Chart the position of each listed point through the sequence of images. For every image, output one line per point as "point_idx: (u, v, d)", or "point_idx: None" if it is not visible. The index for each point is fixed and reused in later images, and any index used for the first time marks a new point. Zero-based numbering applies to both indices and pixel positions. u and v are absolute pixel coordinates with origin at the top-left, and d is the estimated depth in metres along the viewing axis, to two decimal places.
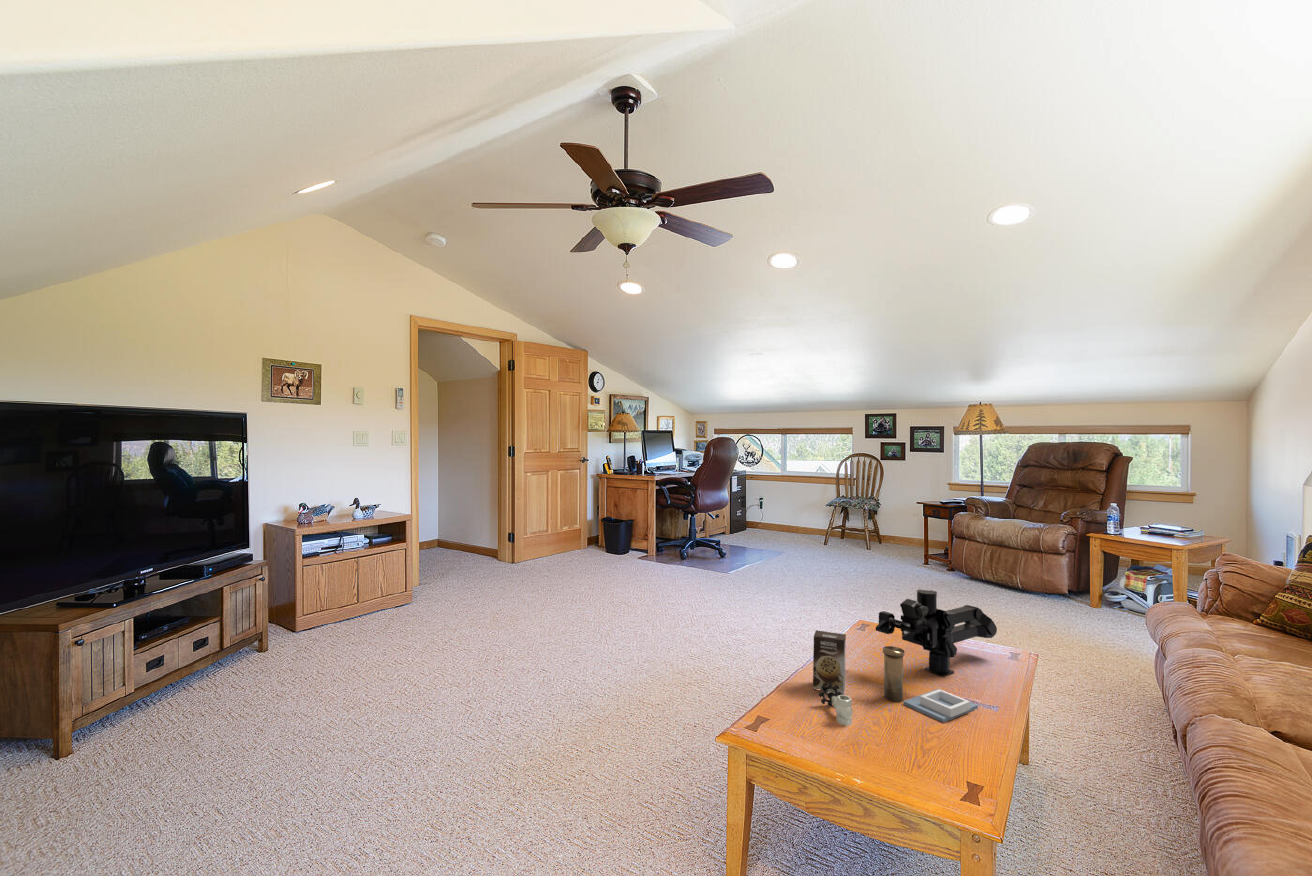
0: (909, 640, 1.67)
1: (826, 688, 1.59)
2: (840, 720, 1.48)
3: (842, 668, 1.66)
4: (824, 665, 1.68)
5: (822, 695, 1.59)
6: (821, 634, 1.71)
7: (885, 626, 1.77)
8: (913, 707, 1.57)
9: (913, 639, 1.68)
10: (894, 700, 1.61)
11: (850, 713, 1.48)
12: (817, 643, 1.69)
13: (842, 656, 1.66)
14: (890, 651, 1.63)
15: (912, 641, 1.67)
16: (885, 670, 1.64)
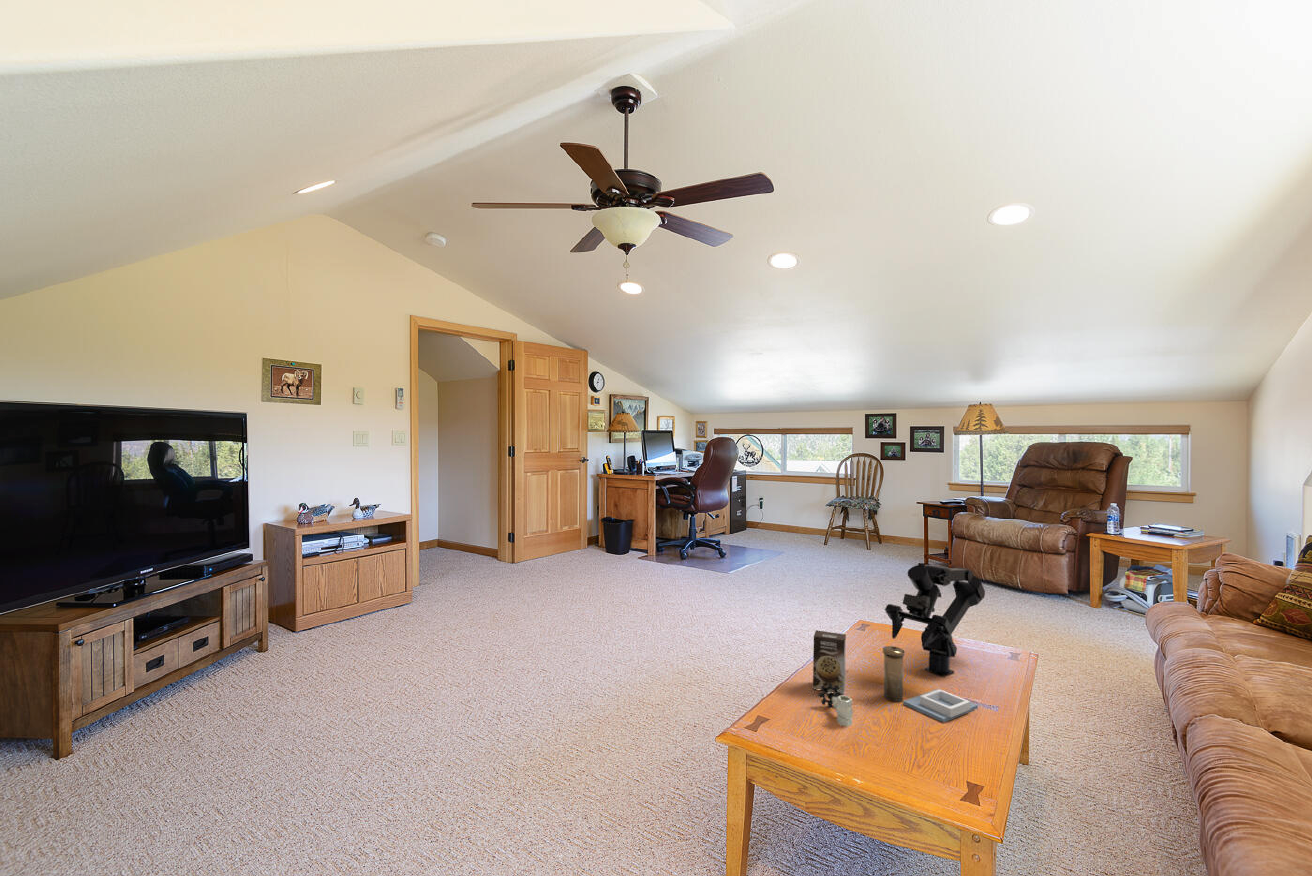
0: (929, 642, 1.68)
1: (826, 689, 1.58)
2: (840, 721, 1.48)
3: (842, 668, 1.66)
4: (824, 665, 1.68)
5: (822, 696, 1.58)
6: (821, 634, 1.71)
7: (898, 624, 1.77)
8: (913, 707, 1.57)
9: (931, 638, 1.68)
10: (894, 700, 1.61)
11: (850, 714, 1.47)
12: (817, 643, 1.69)
13: (842, 656, 1.66)
14: (890, 651, 1.63)
15: (931, 640, 1.69)
16: (885, 670, 1.64)
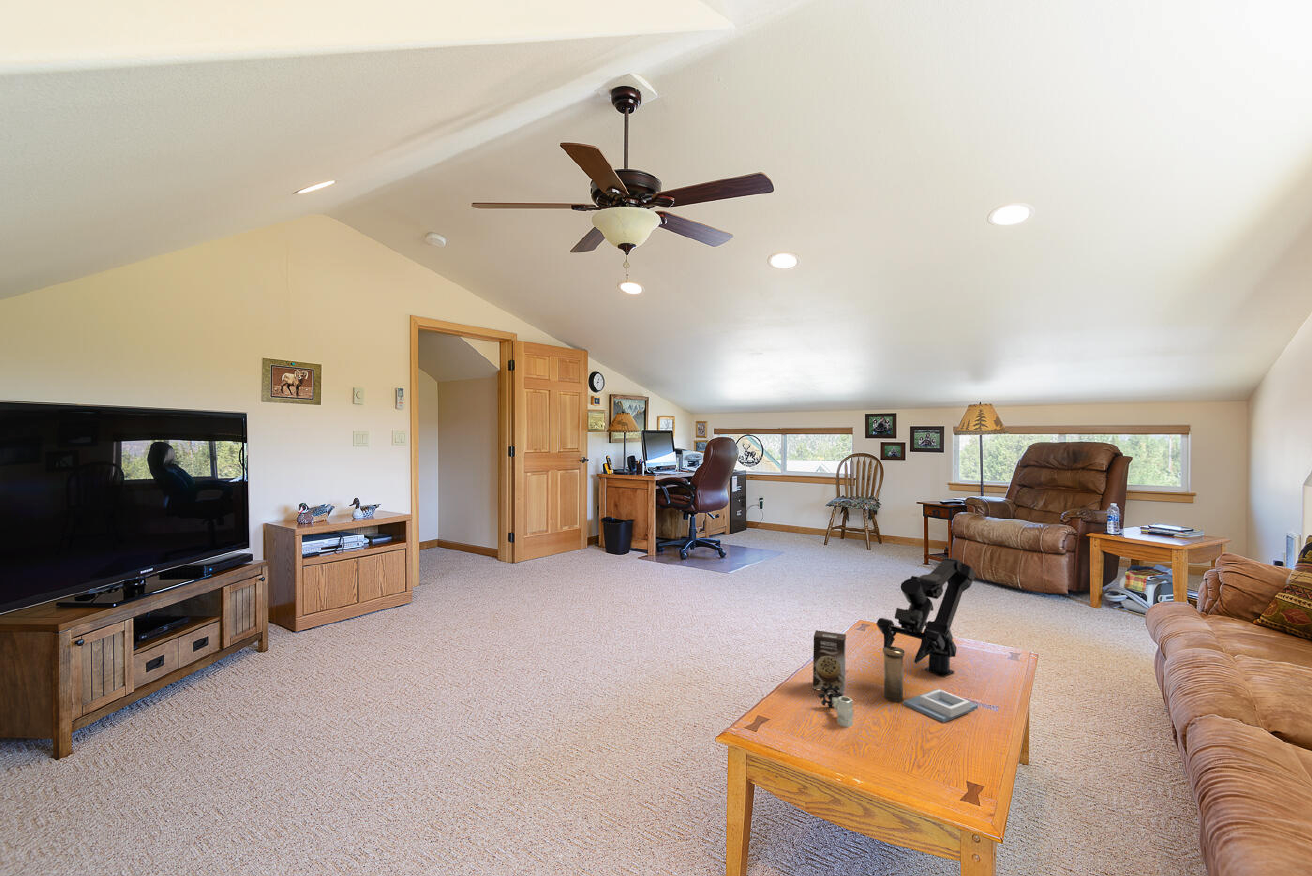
0: (921, 658, 1.64)
1: (826, 689, 1.58)
2: (841, 721, 1.48)
3: (842, 668, 1.66)
4: (824, 665, 1.68)
5: (822, 696, 1.58)
6: (821, 634, 1.71)
7: (890, 639, 1.72)
8: (913, 707, 1.57)
9: (924, 654, 1.64)
10: (894, 700, 1.61)
11: (851, 714, 1.47)
12: (817, 643, 1.69)
13: (842, 656, 1.66)
14: (890, 651, 1.63)
15: (924, 656, 1.64)
16: (885, 670, 1.64)
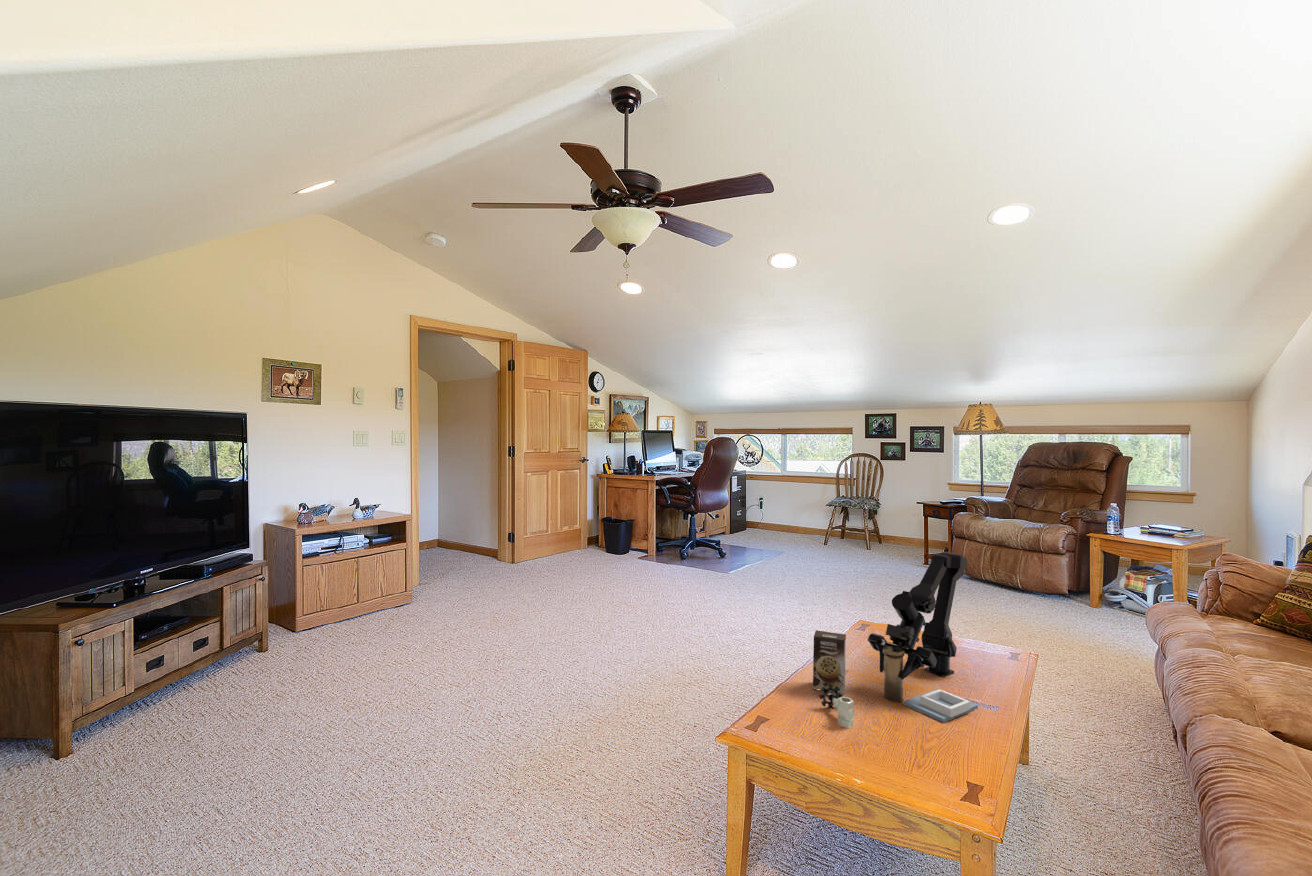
0: (907, 674, 1.61)
1: (827, 690, 1.57)
2: (842, 722, 1.47)
3: (842, 668, 1.66)
4: (824, 665, 1.68)
5: (823, 697, 1.57)
6: (821, 634, 1.71)
7: None
8: (913, 707, 1.57)
9: (910, 670, 1.62)
10: (894, 700, 1.61)
11: (852, 715, 1.47)
12: (817, 643, 1.69)
13: (842, 656, 1.66)
14: (890, 651, 1.63)
15: (910, 672, 1.62)
16: (885, 670, 1.64)
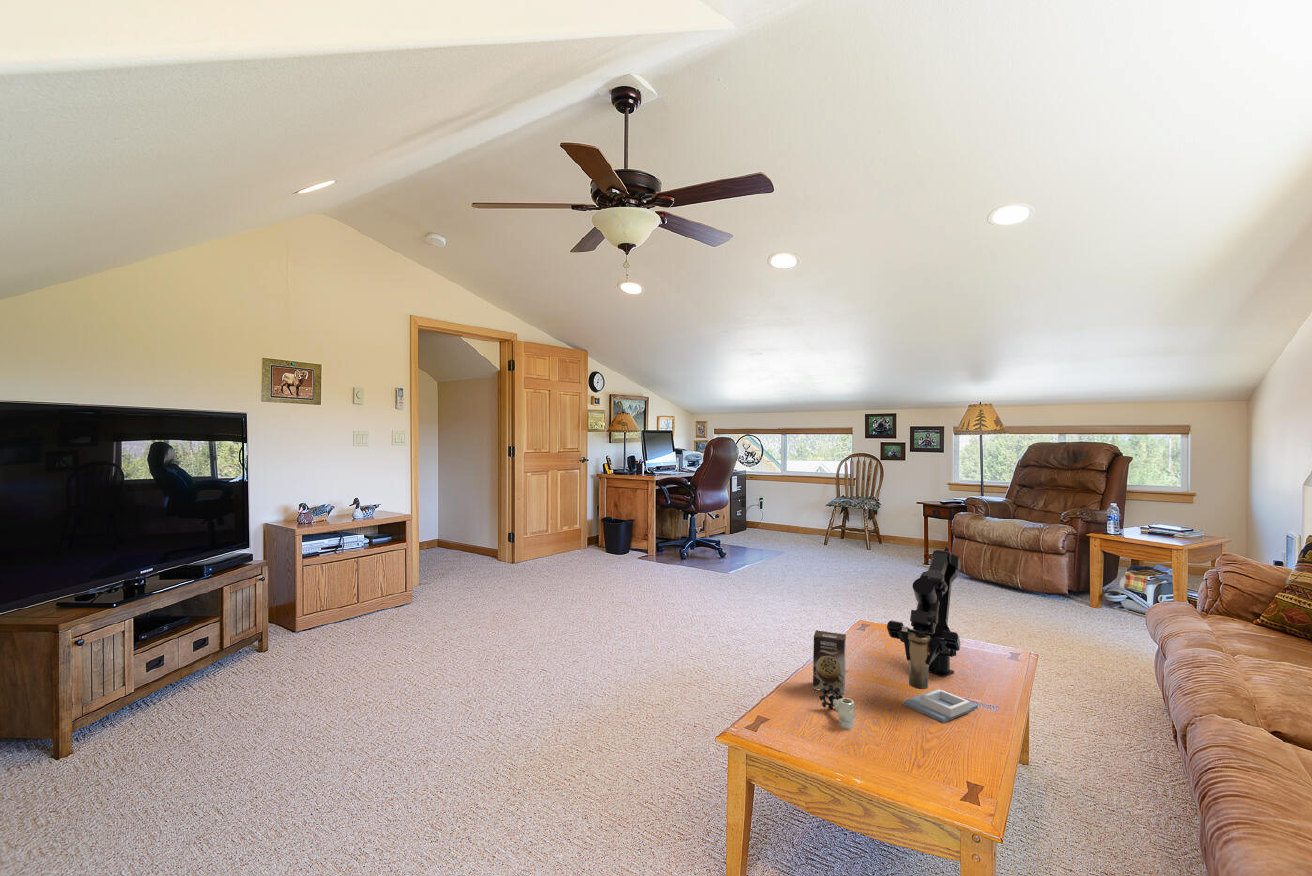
0: (933, 659, 1.58)
1: (827, 691, 1.57)
2: (843, 724, 1.46)
3: (842, 668, 1.66)
4: (824, 665, 1.68)
5: (823, 698, 1.57)
6: (821, 634, 1.71)
7: None
8: (913, 707, 1.57)
9: (935, 655, 1.59)
10: (922, 687, 1.57)
11: (853, 716, 1.46)
12: (817, 643, 1.69)
13: (842, 656, 1.66)
14: (917, 638, 1.58)
15: (934, 657, 1.59)
16: (912, 657, 1.59)
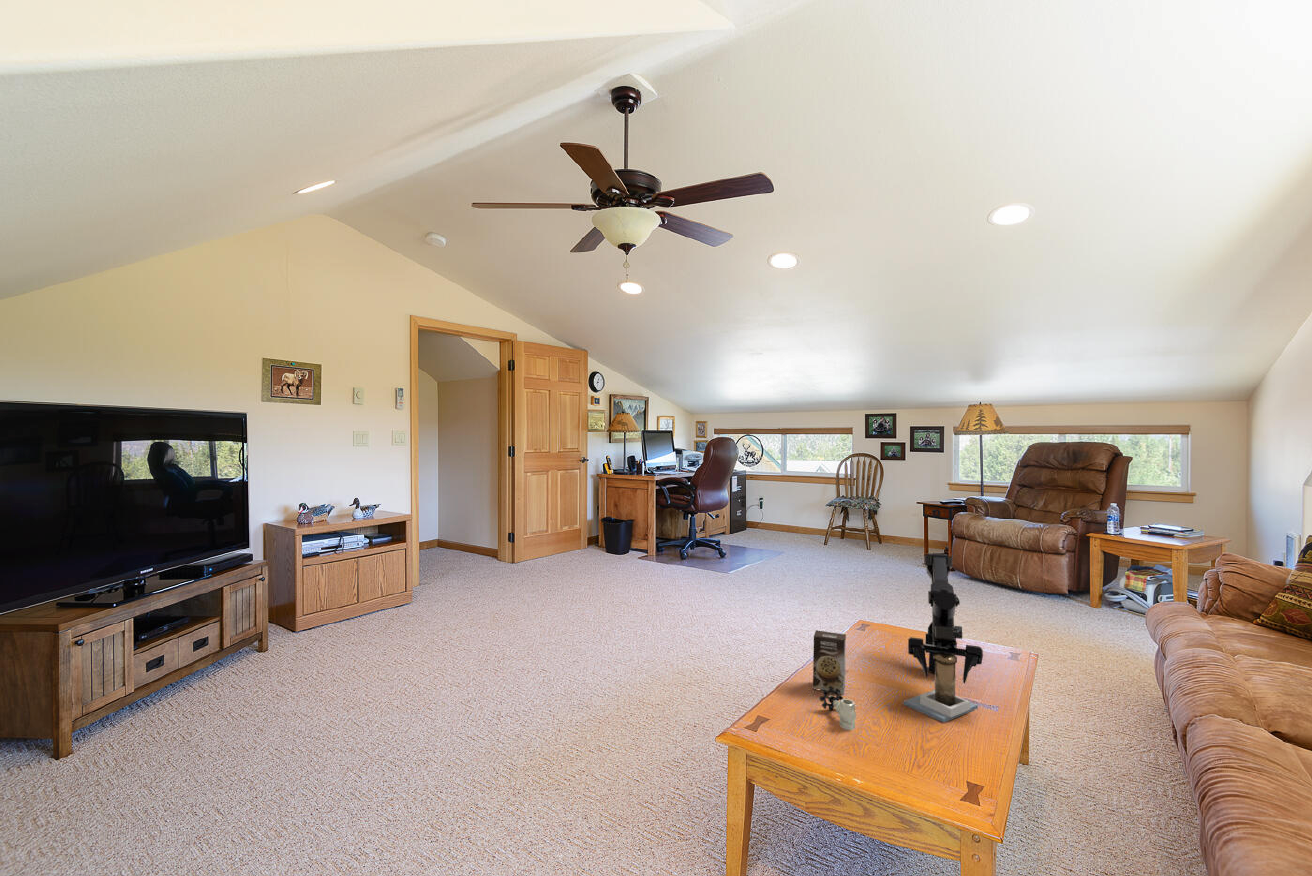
0: None
1: (827, 692, 1.56)
2: (844, 725, 1.46)
3: (842, 668, 1.66)
4: (824, 665, 1.68)
5: (823, 699, 1.56)
6: (821, 634, 1.71)
7: None
8: (913, 707, 1.57)
9: (968, 672, 1.56)
10: None
11: (854, 717, 1.45)
12: (817, 643, 1.69)
13: (842, 656, 1.66)
14: (945, 658, 1.55)
15: (967, 674, 1.56)
16: (940, 679, 1.55)
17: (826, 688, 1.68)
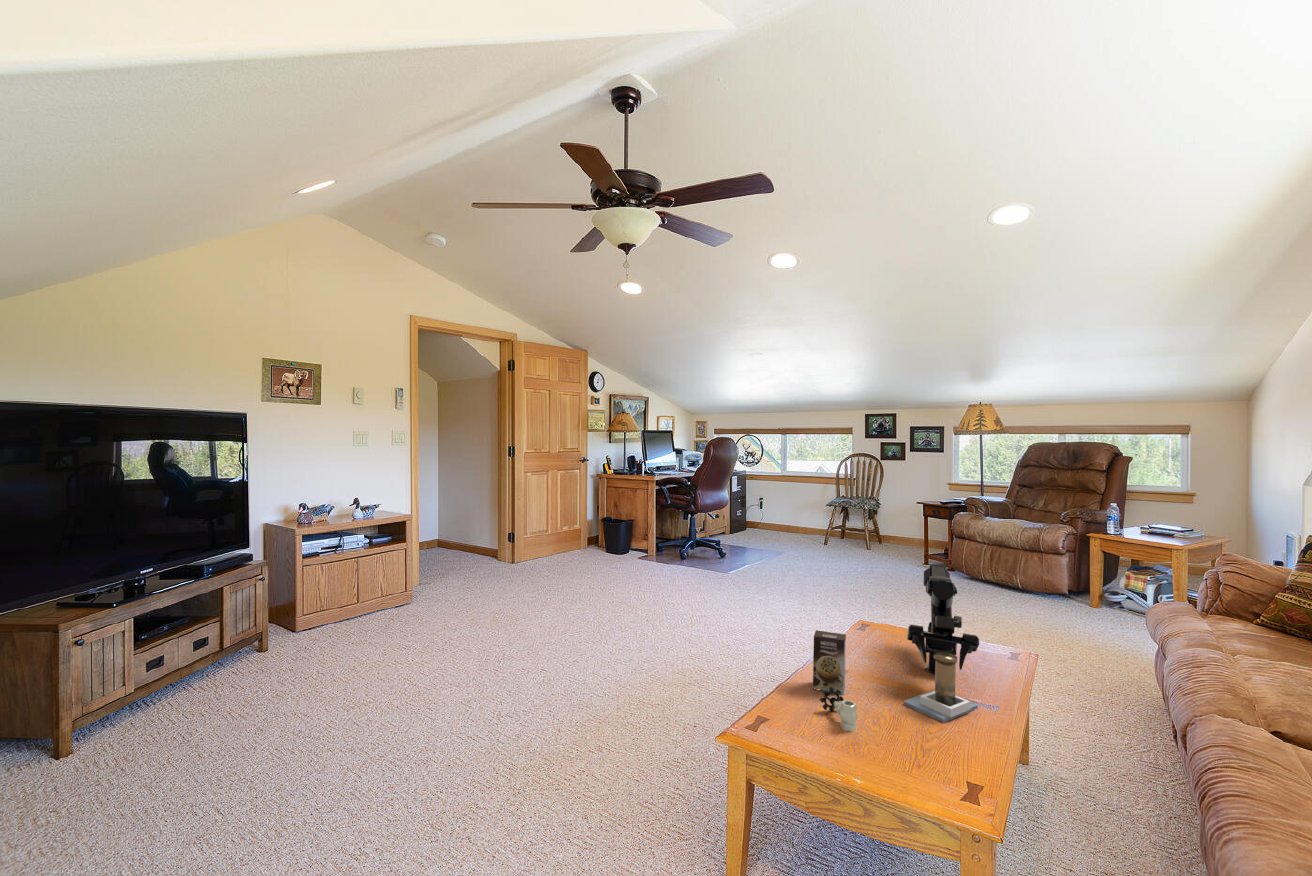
0: None
1: (828, 693, 1.55)
2: (845, 726, 1.45)
3: (842, 668, 1.66)
4: (824, 665, 1.68)
5: (824, 700, 1.55)
6: (821, 634, 1.71)
7: None
8: (913, 707, 1.57)
9: None
10: None
11: (855, 719, 1.45)
12: (817, 643, 1.69)
13: (842, 656, 1.66)
14: (946, 658, 1.55)
15: None
16: (940, 679, 1.55)
17: (826, 688, 1.68)
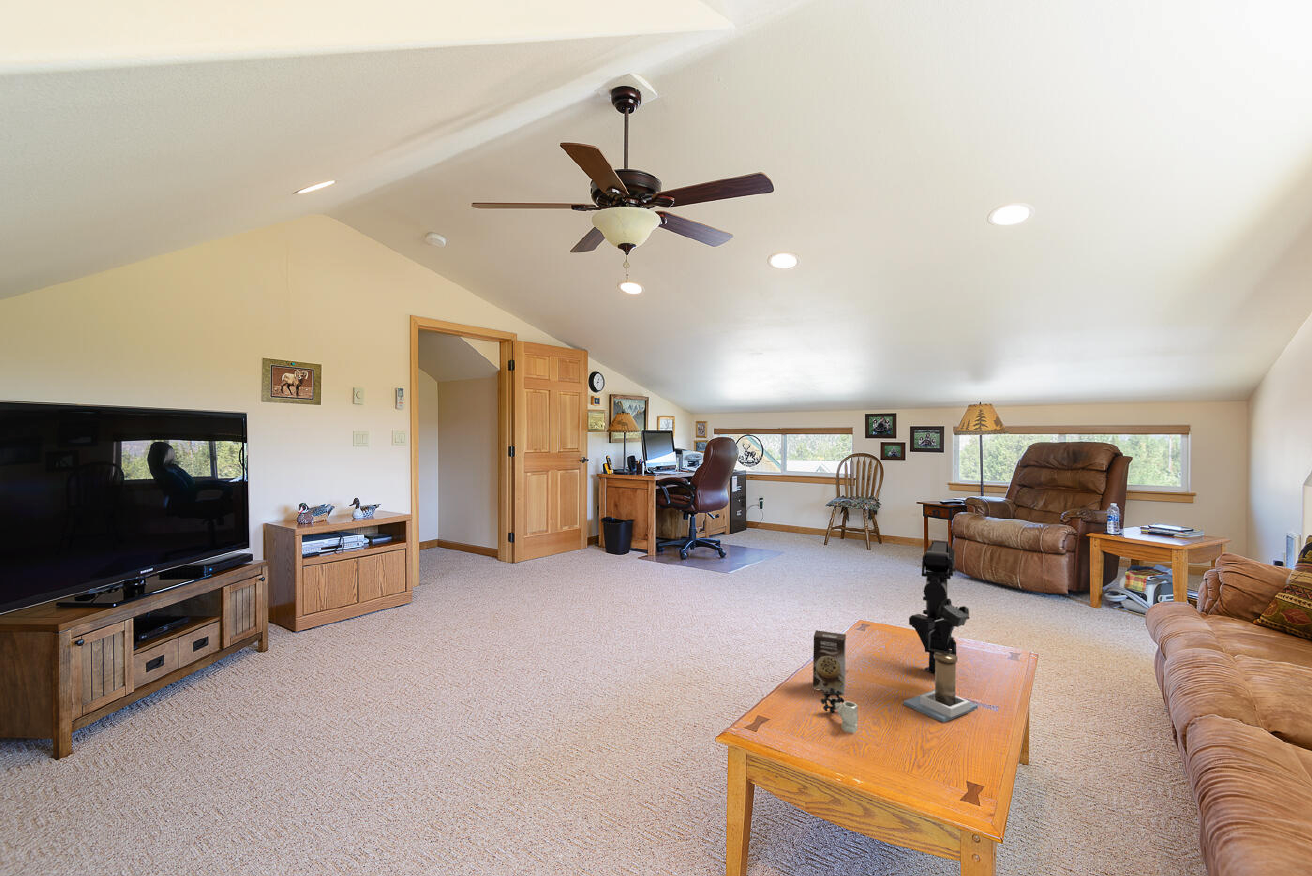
0: None
1: (828, 694, 1.55)
2: (846, 728, 1.44)
3: (842, 668, 1.66)
4: (824, 665, 1.68)
5: (824, 702, 1.54)
6: (821, 634, 1.71)
7: None
8: (913, 707, 1.57)
9: None
10: None
11: (856, 720, 1.44)
12: (817, 643, 1.69)
13: (842, 656, 1.66)
14: (946, 658, 1.55)
15: None
16: (940, 678, 1.56)
17: (826, 688, 1.68)
